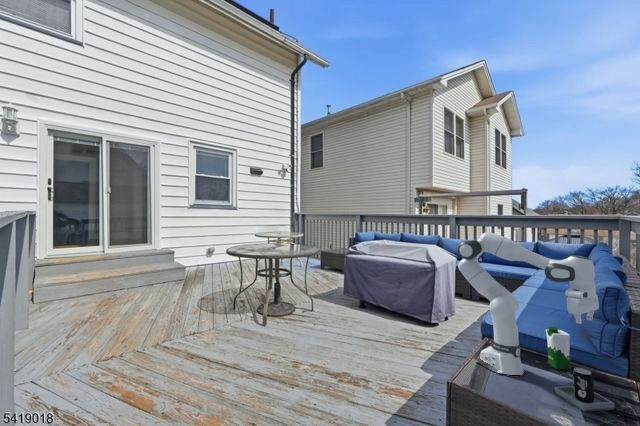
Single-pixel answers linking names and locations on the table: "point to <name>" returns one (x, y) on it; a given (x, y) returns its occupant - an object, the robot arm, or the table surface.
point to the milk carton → (558, 348)
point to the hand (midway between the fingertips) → (584, 321)
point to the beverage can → (583, 385)
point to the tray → (597, 405)
